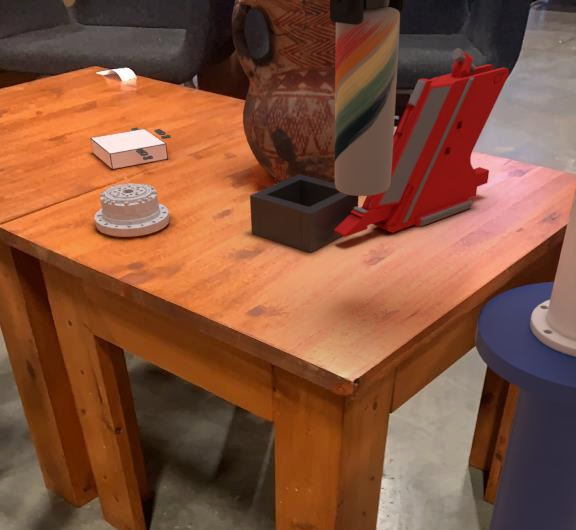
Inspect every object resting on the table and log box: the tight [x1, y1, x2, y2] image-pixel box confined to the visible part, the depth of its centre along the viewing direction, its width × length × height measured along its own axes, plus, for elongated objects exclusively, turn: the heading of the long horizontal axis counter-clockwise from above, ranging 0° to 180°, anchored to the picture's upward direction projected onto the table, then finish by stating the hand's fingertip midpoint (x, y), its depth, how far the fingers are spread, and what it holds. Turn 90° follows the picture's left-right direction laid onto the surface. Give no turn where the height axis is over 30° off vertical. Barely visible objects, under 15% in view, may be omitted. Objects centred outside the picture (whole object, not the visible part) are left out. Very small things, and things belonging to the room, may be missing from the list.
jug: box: [231, 0, 336, 183], centre depth 109 cm, size 22×21×25 cm
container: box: [90, 127, 172, 171], centre depth 125 cm, size 20×12×3 cm, turn 29°
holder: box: [249, 174, 360, 253], centre depth 100 cm, size 10×10×5 cm
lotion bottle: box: [335, 0, 401, 197], centre depth 71 cm, size 6×6×20 cm
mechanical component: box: [93, 182, 170, 238], centre depth 103 cm, size 10×4×10 cm
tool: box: [334, 47, 510, 238], centre depth 100 cm, size 24×5×25 cm, turn 133°
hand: (368, 14), depth 68 cm, fingers closed on lotion bottle, 5 cm apart
